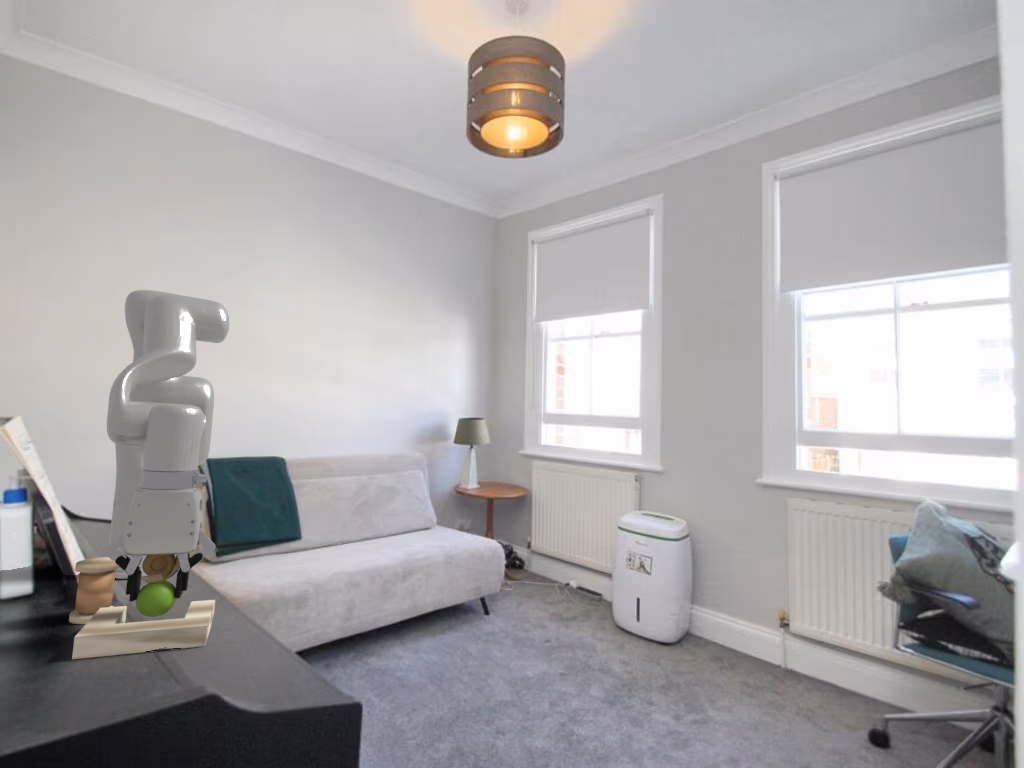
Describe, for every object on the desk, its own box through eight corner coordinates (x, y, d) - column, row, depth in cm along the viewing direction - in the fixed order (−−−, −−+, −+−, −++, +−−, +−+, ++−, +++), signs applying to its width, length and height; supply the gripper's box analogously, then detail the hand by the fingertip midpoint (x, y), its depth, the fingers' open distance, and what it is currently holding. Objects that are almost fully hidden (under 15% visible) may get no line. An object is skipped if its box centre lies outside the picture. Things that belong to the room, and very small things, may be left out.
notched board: (98, 627, 84) (100, 607, 84) (213, 617, 90) (215, 599, 90) (71, 659, 73) (74, 636, 73) (205, 646, 79) (207, 625, 79)
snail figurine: (187, 614, 85) (196, 538, 86) (142, 625, 79) (152, 543, 80) (172, 606, 88) (180, 532, 89) (127, 615, 82) (137, 537, 84)
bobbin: (75, 612, 89) (82, 558, 90) (119, 609, 91) (125, 556, 92) (63, 625, 83) (70, 567, 84) (109, 622, 86) (116, 565, 87)
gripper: (230, 479, 92) (220, 586, 91) (111, 478, 85) (97, 594, 84) (227, 484, 85) (215, 600, 84) (96, 483, 78) (81, 610, 77)
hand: (156, 596), depth 84 cm, fingers closed on snail figurine, 5 cm apart
